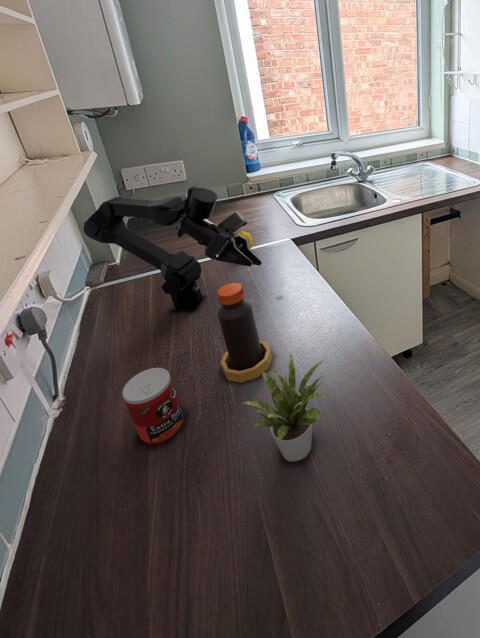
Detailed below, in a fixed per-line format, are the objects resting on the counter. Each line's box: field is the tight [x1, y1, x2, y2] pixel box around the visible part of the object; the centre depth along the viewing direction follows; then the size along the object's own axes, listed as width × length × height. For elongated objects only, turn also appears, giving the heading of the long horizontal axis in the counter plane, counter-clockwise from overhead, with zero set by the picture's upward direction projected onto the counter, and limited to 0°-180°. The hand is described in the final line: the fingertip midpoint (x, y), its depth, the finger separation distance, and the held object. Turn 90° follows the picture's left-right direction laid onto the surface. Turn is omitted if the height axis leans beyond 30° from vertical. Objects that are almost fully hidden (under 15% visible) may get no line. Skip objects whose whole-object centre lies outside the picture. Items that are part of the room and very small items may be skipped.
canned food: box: [122, 367, 184, 445], centre depth 74 cm, size 8×8×11 cm
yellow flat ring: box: [220, 339, 273, 384], centre depth 90 cm, size 10×11×2 cm
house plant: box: [240, 353, 330, 463], centre depth 68 cm, size 14×14×16 cm
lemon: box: [236, 230, 254, 250], centre depth 139 cm, size 6×6×8 cm
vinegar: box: [216, 282, 264, 371], centre depth 87 cm, size 7×7×20 cm
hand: (256, 264), depth 101 cm, fingers open, 9 cm apart
